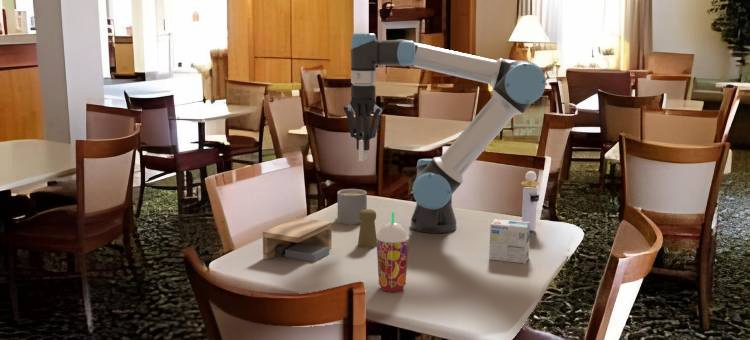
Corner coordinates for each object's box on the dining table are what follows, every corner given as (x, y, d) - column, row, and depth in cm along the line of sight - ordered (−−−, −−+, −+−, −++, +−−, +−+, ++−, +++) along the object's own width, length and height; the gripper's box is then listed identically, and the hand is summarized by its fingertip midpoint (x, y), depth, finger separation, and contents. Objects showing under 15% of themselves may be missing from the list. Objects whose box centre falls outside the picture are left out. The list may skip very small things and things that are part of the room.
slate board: (329, 255, 211) (329, 247, 211) (314, 263, 204) (314, 254, 204) (300, 250, 216) (300, 242, 215) (285, 258, 209) (285, 249, 208)
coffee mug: (368, 223, 244) (368, 195, 242) (338, 224, 242) (338, 195, 240) (363, 213, 257) (363, 186, 255) (335, 214, 255) (335, 187, 253)
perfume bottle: (515, 230, 237) (518, 170, 233) (527, 227, 240) (529, 168, 237) (529, 234, 232) (532, 173, 229) (540, 231, 236) (544, 171, 232)
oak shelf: (331, 248, 217) (331, 222, 215) (298, 265, 201) (298, 237, 199) (298, 242, 222) (297, 217, 220) (263, 258, 206) (262, 231, 205)
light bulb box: (529, 257, 210) (531, 221, 207) (526, 264, 203) (528, 227, 201) (492, 253, 213) (494, 217, 211) (488, 260, 207) (489, 223, 205)
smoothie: (374, 283, 187) (374, 208, 183) (406, 282, 188) (407, 207, 184) (377, 294, 179) (377, 216, 175) (410, 293, 180) (411, 216, 176)
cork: (375, 248, 217) (375, 213, 214) (355, 247, 218) (355, 211, 216) (379, 242, 222) (379, 208, 220) (360, 241, 224) (360, 207, 221)
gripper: (338, 84, 220) (338, 160, 225) (376, 86, 214) (375, 164, 219) (350, 82, 227) (350, 156, 231) (387, 84, 221) (386, 160, 225)
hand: (362, 160), depth 225 cm, fingers closed
